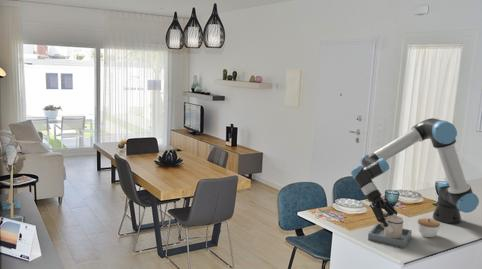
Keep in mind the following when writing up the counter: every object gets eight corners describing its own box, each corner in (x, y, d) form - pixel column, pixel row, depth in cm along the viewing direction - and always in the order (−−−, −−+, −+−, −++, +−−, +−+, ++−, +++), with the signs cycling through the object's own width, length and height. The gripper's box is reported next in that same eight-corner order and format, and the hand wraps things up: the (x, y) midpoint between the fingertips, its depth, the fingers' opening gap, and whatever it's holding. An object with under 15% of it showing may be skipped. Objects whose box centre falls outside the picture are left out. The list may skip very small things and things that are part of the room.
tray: (411, 236, 220) (411, 230, 220) (404, 248, 205) (405, 241, 205) (376, 228, 230) (377, 222, 229) (367, 239, 214) (368, 233, 214)
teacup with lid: (405, 236, 216) (407, 215, 214) (396, 240, 210) (398, 218, 208) (384, 229, 225) (386, 208, 223) (375, 233, 219) (377, 211, 217)
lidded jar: (428, 240, 216) (430, 223, 214) (412, 233, 225) (413, 216, 224) (442, 237, 220) (444, 220, 219) (426, 230, 230) (427, 214, 228)
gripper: (377, 192, 233) (401, 228, 224) (355, 199, 219) (380, 238, 209) (387, 185, 228) (412, 221, 219) (365, 192, 214) (391, 231, 205)
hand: (396, 229), depth 214 cm, fingers open, 9 cm apart
